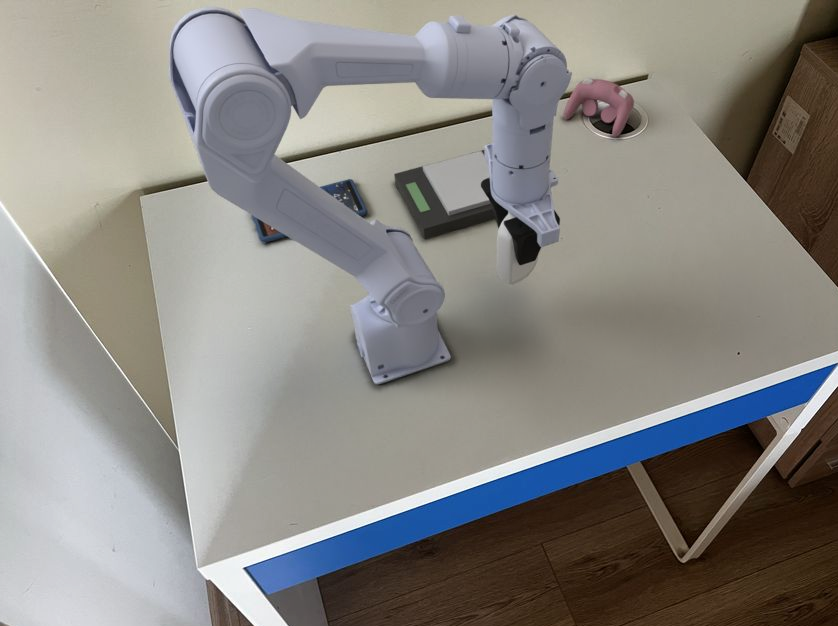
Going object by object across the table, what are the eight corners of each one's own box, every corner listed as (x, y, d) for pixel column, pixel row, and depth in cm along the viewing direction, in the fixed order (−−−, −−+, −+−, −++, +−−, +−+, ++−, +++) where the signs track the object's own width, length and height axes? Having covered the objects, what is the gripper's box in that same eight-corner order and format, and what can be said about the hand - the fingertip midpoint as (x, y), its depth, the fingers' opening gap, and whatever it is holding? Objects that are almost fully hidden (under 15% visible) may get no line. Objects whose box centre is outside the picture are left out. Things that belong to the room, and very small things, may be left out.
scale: (424, 239, 95) (423, 224, 93) (395, 184, 101) (393, 169, 99) (518, 211, 98) (519, 196, 96) (484, 160, 104) (484, 144, 102)
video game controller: (625, 136, 110) (641, 91, 107) (616, 139, 106) (633, 92, 103) (569, 116, 113) (583, 71, 110) (559, 118, 109) (573, 72, 106)
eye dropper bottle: (546, 274, 82) (554, 197, 72) (502, 289, 81) (503, 212, 71) (531, 249, 84) (536, 171, 75) (488, 263, 83) (487, 185, 74)
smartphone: (248, 204, 97) (352, 177, 101) (249, 208, 98) (352, 181, 101) (260, 240, 93) (368, 211, 97) (261, 245, 94) (368, 215, 97)
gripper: (593, 184, 65) (579, 280, 76) (527, 97, 73) (523, 196, 84) (524, 206, 64) (519, 300, 75) (464, 115, 72) (469, 212, 83)
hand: (517, 246), depth 80 cm, fingers closed on eye dropper bottle, 4 cm apart
